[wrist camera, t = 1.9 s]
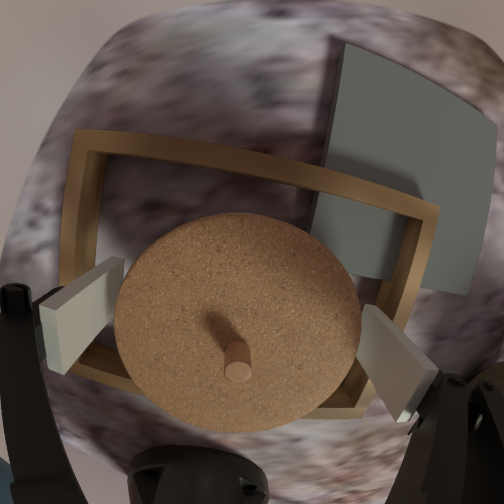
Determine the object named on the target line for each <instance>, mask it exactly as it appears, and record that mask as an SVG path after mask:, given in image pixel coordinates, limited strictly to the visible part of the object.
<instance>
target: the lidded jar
mask: <svg viewBox="0 0 504 504" xmlns="http://www.w3.org/2000/svg"><path fill="white" fill-rule="evenodd" d="M361 330H362V322H361V308H360V303H359V299H358V294H357V292H356V289H355V287H354V285H353V282H352V280H351V277H350V276H349V274H348V273H347V271H346V270H345V268H344V267H343V265H342V264H341V262H340V261H339V260H338V259H337V258H336V257H335V255H334V254H333V253H332V252H331V251H330V250H329V249H328V248H327V247H326V246H325V245H323V244H322V243H321V242H319V241H318V240H317V239H315V238H314V237H312V236H311V235H310V234H308V233H307V232H305V231H303V230H301V229H299V228H297V227H295V226H293V225H291V224H289V223H287V222H284V221H281V220H278V219H274V218H271V217H268V216H263V215H260V214H252V213H244V212H235V213H221V214H216V215H211V216H206V217H202V218H198V219H196V220H193V221H191V222H188V223H185V224H183V225H180V226H178V227H176V228H175V229H173V230H171V231H170V232H168V233H166V234H165V235H163V236H161V237H160V238H158V239H157V240H156V241H155V242H154V243H153V244H151V245H150V246H149V247H148V248H147V249H146V250H144V251H143V252H142V253H141V255H140V256H139V257H138V258H137V260H136V261H135V262H134V263H133V265H132V266H131V267H130V269H129V270H128V272H127V274H126V276H125V278H124V280H123V282H122V284H121V286H120V289H119V292H118V296H117V299H116V303H115V311H114V333H115V340H116V344H117V348H118V352H119V355H120V357H121V359H122V362H123V364H124V366H125V368H126V370H127V372H128V373H129V375H130V377H131V378H132V380H133V381H134V383H135V384H136V385H137V386H138V388H139V389H140V390H141V391H142V392H143V393H144V394H145V395H146V396H147V397H148V398H149V399H150V400H151V401H152V402H153V403H154V404H156V405H157V406H158V407H159V408H161V409H163V410H164V411H166V412H167V413H169V414H170V415H172V416H174V417H176V418H178V419H180V420H182V421H184V422H186V423H189V424H192V425H195V426H198V427H201V428H205V429H210V430H214V431H220V432H234V433H238V432H255V431H261V430H267V429H271V428H275V427H279V426H282V425H285V424H287V423H290V422H292V421H294V420H296V419H299V418H300V417H302V416H304V415H306V414H307V413H309V412H311V411H313V410H314V409H315V408H316V407H318V406H319V405H320V404H322V403H323V402H324V401H325V400H326V399H327V398H328V397H329V396H330V395H331V394H332V393H333V392H334V391H335V390H336V389H337V388H338V387H339V385H340V384H341V382H342V381H343V380H344V378H345V377H346V375H347V373H348V371H349V370H350V368H351V366H352V364H353V362H354V359H355V356H356V353H357V350H358V347H359V343H360V336H361Z"/></svg>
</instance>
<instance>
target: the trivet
mask: <svg viewBox="0 0 504 504" xmlns="http://www.w3.org/2000/svg"><path fill="white" fill-rule="evenodd" d="M496 144H497V125H496V124H495V123H494V122H493V121H491V120H490V119H489V118H487V117H486V116H485V115H483V114H482V113H480V112H479V111H478V110H476V109H475V108H473V107H472V106H470V105H469V104H467V103H466V102H464V101H463V100H461V99H460V98H458V97H457V96H455V95H453V94H452V93H450V92H449V91H447V90H445V89H444V88H442V87H440V86H438V85H437V84H435V83H433V82H431V81H430V80H428V79H426V78H424V77H422V76H420V75H419V74H417V73H415V72H413V71H411V70H409V69H407V68H405V67H403V66H401V65H399V64H396V63H394V62H392V61H390V60H388V59H385V58H383V57H381V56H378V55H376V54H374V53H371V52H369V51H366V50H364V49H361V48H359V47H356V46H353V45H351V44H348V43H345V44H344V46H343V47H342V48H341V49H340V54H339V61H338V67H337V74H336V80H335V86H334V92H333V98H332V104H331V109H330V115H329V120H328V126H327V131H326V137H325V142H324V147H323V152H322V157H321V162H320V167H322V168H326V169H329V170H333V171H337V172H340V173H343V174H347V175H350V176H354V177H357V178H360V179H363V180H367V181H370V182H373V183H376V184H379V185H382V186H385V187H388V188H391V189H394V190H397V191H400V192H403V193H405V194H408V195H411V196H414V197H416V198H419V199H422V200H424V201H427V202H430V203H432V204H435V205H437V206H440V212H439V216H438V221H437V225H436V230H435V234H434V238H433V242H432V246H431V250H430V253H429V257H428V261H427V264H426V268H425V271H424V274H423V278H422V281H421V284H420V287H422V288H428V289H433V290H438V291H444V292H449V293H454V294H460V295H465V296H467V294H468V291H469V288H470V285H471V282H472V279H473V275H474V272H475V269H476V265H477V261H478V258H479V254H480V250H481V246H482V242H483V237H484V233H485V228H486V223H487V218H488V213H489V207H490V201H491V195H492V188H493V180H494V171H495V160H496ZM407 220H408V217H407V216H403V215H400V214H397V213H394V212H391V211H387V210H384V209H381V208H377V207H374V206H371V205H367V204H364V203H360V202H357V201H353V200H349V199H346V198H342V197H338V196H334V195H331V194H327V193H323V192H318V191H314V195H313V200H312V204H311V209H310V213H309V218H308V222H307V226H306V231H305V232H307V233H308V234H310V235H311V236H312V237H314V238H315V239H317V240H318V241H319V242H321V243H322V244H323V245H325V246H326V247H327V248H328V249H329V250H330V251H331V252H332V253H333V254H334V255H335V257H336V258H337V259H338V260H339V261H340V262H341V264H342V265H343V267H344V268H345V270H346V271H347V273H348V274H353V275H358V276H363V277H369V278H374V279H379V280H385V281H390V282H391V280H392V277H393V273H394V270H395V267H396V263H397V260H398V256H399V252H400V249H401V245H402V241H403V237H404V233H405V229H406V225H407Z"/></svg>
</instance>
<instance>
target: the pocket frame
mask: <svg viewBox="0 0 504 504" xmlns="http://www.w3.org/2000/svg"><path fill="white" fill-rule="evenodd" d="M109 154H110V155H119V156H127V157H135V158H143V159H150V160H157V161H164V162H171V163H177V164H184V165H190V166H196V167H202V168H207V169H213V170H219V171H224V172H229V173H234V174H239V175H244V176H249V177H254V178H259V179H264V180H268V181H273V182H277V183H282V184H286V185H290V186H295V187H299V188H303V189H307V190H311V191H318V192H323V193H327V194H331V195H334V196H338V197H342V198H346V199H349V200H353V201H357V202H360V203H364V204H367V205H371V206H374V207H377V208H381V209H384V210H387V211H391V212H394V213H397V214H400V215H403V216H407V217H408V220H407V225H406V229H405V233H404V237H403V241H402V245H401V249H400V252H399V256H398V260H397V263H396V267H395V270H394V273H393V277H392V280H391V282H390V281H385V280H382V282H381V286H380V289H379V292H378V295H377V298H376V301H375V304H374V305H376V306H377V307H378V308H379V309H380V310H381V311H382V312H383V313H384V314H385V315H386V316H387V317H388V318H389V319H390V320H391V321H392V322H393V323H394V324H395V325H396V326H397V327H398V328H399V329H400V330H401V331H402V332H403V331H404V329H405V326H406V324H407V321H408V318H409V316H410V313H411V310H412V308H413V305H414V302H415V299H416V296H417V293H418V290H419V287H420V284H421V281H422V278H423V274H424V271H425V268H426V264H427V261H428V257H429V253H430V250H431V246H432V242H433V238H434V234H435V230H436V225H437V221H438V216H439V212H440V206H437V205H435V204H432V203H430V202H427V201H424V200H422V199H419V198H416V197H414V196H411V195H408V194H405V193H403V192H400V191H397V190H394V189H391V188H388V187H385V186H382V185H379V184H376V183H373V182H370V181H367V180H363V179H360V178H357V177H354V176H350V175H347V174H343V173H340V172H337V171H333V170H329V169H326V168H322V167H318V166H315V165H311V164H307V163H303V162H299V161H295V160H291V159H287V158H283V157H278V156H274V155H269V154H265V153H260V152H256V151H251V150H246V149H241V148H236V147H230V146H225V145H219V144H214V143H208V142H202V141H195V140H189V139H182V138H175V137H168V136H160V135H151V134H142V133H133V132H122V131H109V130H94V129H75V134H74V138H73V143H72V148H71V153H70V159H69V164H68V170H67V177H66V184H65V191H64V199H63V209H62V220H61V234H60V257H59V287H61V286H67V285H68V284H70V283H71V282H73V281H74V280H76V279H77V278H79V277H80V276H82V275H83V274H85V273H86V272H88V271H90V270H91V269H93V268H94V267H95V255H96V242H97V231H98V221H99V212H100V204H101V197H102V190H103V184H104V177H105V172H106V166H107V161H108V155H109ZM68 372H71V373H73V374H76V375H79V376H81V377H84V378H87V379H90V380H93V381H96V382H99V383H102V384H105V385H108V386H111V387H114V388H118V389H121V390H125V391H128V392H132V393H135V394H139V395H143V396H146V395H145V394H144V393H143V392H142V391H141V390H140V389H139V388H138V386H137V385H136V384H135V383H134V381H133V380H132V378H131V377H130V375H129V373H128V372H127V370H126V368H125V366H124V364H123V362H122V359H121V357H120V355H119V352H118V350H115V349H112V348H109V347H105V346H102V345H99V344H95V338H94V339H93V341H92V342H91V343H90V344H89V345H88V347H87V348H86V349H85V350H84V351H83V353H82V354H81V355H80V356H79V357H78V359H77V360H76V361H75V362H74V364H73V365H72V366H71V367H70V368H69V370H68ZM376 391H377V390H376V388H375V387H374V385H373V384H372V382H371V380H370V379H369V377H368V375H367V374H366V372H365V370H364V369H363V367H362V366H361V364H360V362H359V361H358V359H357V358H356V356H355V359H354V362H353V364H352V366H351V368H350V370H349V372H348V374H347V377H346V379H345V381H344V383H343V385H339V387H338V388H337V389H336V390H335V391H334V392H333V393H332V394H331V395H330V396H329V397H328V398H327V399H326V400H325V401H324V402H323V403H322V404H320V405H319V406H318V407H316V408H315V409H314V410H313V411H311V412H309V413H307V414H306V415H304V416H302V417H300V418H299V419H362V417H363V415H364V413H365V412H366V410H367V408H368V406H369V404H370V402H371V401H372V399H373V397H374V395H375V393H376Z"/></svg>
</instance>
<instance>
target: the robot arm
mask: <svg viewBox="0 0 504 504" xmlns="http://www.w3.org/2000/svg"><path fill="white" fill-rule="evenodd" d="M124 263H125V259H122V258H117V257H113V256H112V257H110V258H108V259H107V260H105V261H104V262H102V263H101V264H99V265H97V266H96V267H94V268H93V269H91V270H90V271H88V272H86V273H85V274H83V275H82V276H80V277H79V278H77V279H76V280H74V281H73V282H71V283H70V284H68V285H67V286H61V287H57V288H54V289H52V290H51V291H49V292H48V293H47V294H45V295H43V296H42V297H40V298H39V299H37V300H36V301H34V302H33V303H32V300H31V290H30V288H29V287H28V286H27V285H24V284H19V283H12V284H7V285H4V286H2V287H1V288H0V307H1V313H0V399H1V410H2V418H3V427H4V434H5V440H6V445H7V451H8V456H9V461H10V464H9V463H7V462H6V461H5V460H4V459H2V458H1V457H0V504H88V502H87V500H86V498H85V496H84V494H83V492H82V490H81V487H80V485H79V483H78V481H77V479H76V476H75V474H74V472H73V469H72V467H71V465H70V463H69V460H68V457H67V454H66V452H65V449H64V446H63V444H62V441H61V438H60V435H59V432H58V429H57V426H56V422H55V419H54V416H53V412H52V409H51V405H50V401H49V397H48V393H47V389H46V385H45V380H44V376H43V371H42V366H41V361H42V360H43V359H44V358H45V357H46V360H47V365H48V369H50V370H52V371H55V372H57V373H60V374H62V375H65V373H66V372H67V371H68V370H69V368H70V367H71V366H72V365H73V364H74V362H75V361H76V360H77V359H78V357H79V356H80V355H81V354H82V353H83V351H84V350H85V349H86V348H87V347H88V345H89V344H90V343H91V342H92V341H93V339H94V338H95V337H96V336H97V335H98V334H99V332H100V331H101V330H102V329H103V328H104V327H105V325H106V324H107V323H108V322H109V321H110V320H111V318H112V317H113V316H114V311H115V303H116V299H117V296H118V292H119V289H120V286H121V284H122V282H123V276H124ZM361 322H362V330H361V336H360V343H359V347H358V350H357V353H356V358H357V359H358V361H359V362H360V364H361V366H362V367H363V369H364V370H365V372H366V374H367V375H368V377H369V379H370V380H371V382H372V384H373V385H374V387H375V388H376V390H377V392H378V393H379V395H380V397H381V398H382V400H383V402H384V403H385V405H386V407H387V408H388V410H389V412H390V413H391V415H392V417H393V419H394V420H395V422H405V421H410V419H411V418H412V416H413V415H414V413H415V411H416V410H417V412H418V413H419V415H420V416H419V418H418V419H417V421H416V422H415V424H414V425H413V427H412V428H411V430H410V431H409V432H408V434H407V435H410V434H411V433H412V435H411V438H410V441H409V444H408V447H407V450H406V453H405V456H404V459H403V461H402V464H401V467H400V469H399V472H398V474H397V477H396V479H395V482H394V484H393V486H392V489H391V491H390V493H389V496H388V498H387V500H386V502H385V504H504V398H503V396H502V394H501V392H500V390H499V388H498V387H497V386H496V385H495V384H494V382H492V381H491V380H486V379H479V380H478V382H477V384H476V386H475V387H474V388H471V387H467V383H466V382H465V381H464V380H463V379H462V378H461V377H459V376H458V375H455V374H451V373H447V374H443V373H442V372H441V371H440V370H439V368H438V367H437V366H436V365H435V364H434V363H433V362H432V361H431V360H430V359H429V358H428V357H427V356H426V355H425V354H424V353H423V352H422V351H421V350H420V349H419V348H418V347H417V346H416V345H415V344H414V343H413V342H412V341H411V340H410V339H409V338H408V337H407V336H406V335H405V334H404V333H403V332H402V331H401V330H400V329H399V328H398V327H397V326H396V325H395V324H394V323H393V322H392V321H391V320H390V319H389V318H388V317H387V316H386V315H385V314H384V313H383V312H382V311H381V310H380V309H379V308H378V307H377V306H376V305H369V304H365V305H364V308H363V311H362V314H361ZM481 419H482V421H481ZM480 421H481V424H480V426H479V427H478V429H477V428H476V426H477V425H478V423H479V422H480ZM127 483H128V491H129V499H130V504H268V501H269V489H268V481H267V477H266V475H265V474H264V473H263V471H262V470H261V469H260V468H258V467H257V466H256V465H254V464H252V463H251V462H249V461H247V460H245V459H243V458H240V457H237V456H235V455H232V454H228V453H225V452H221V451H216V450H211V449H206V448H198V447H187V446H169V447H159V448H154V449H150V450H147V451H144V452H142V453H140V454H139V455H137V456H136V457H135V458H134V460H133V461H132V464H131V467H130V471H129V474H128V481H127Z"/></svg>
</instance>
